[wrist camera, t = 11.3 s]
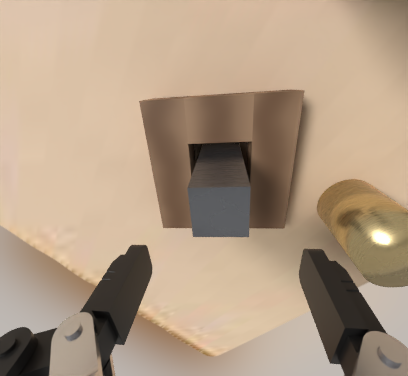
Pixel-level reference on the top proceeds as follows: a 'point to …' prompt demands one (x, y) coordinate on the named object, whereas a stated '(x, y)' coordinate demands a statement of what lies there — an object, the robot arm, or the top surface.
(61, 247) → the top surface
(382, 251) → the cylinder
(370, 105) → the top surface
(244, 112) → the bore block
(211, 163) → the square bit
